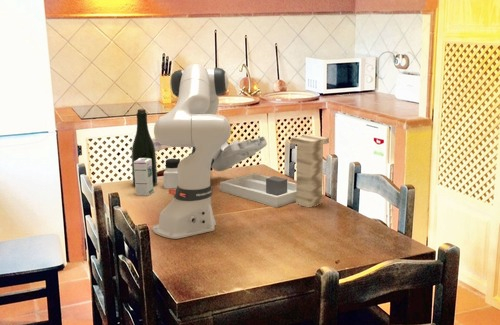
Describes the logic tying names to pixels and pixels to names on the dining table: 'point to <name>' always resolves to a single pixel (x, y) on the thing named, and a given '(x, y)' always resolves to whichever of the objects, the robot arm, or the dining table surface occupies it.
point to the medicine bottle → (171, 173)
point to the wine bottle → (143, 144)
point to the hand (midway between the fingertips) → (257, 139)
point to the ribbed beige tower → (309, 169)
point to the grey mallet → (268, 185)
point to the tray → (258, 191)
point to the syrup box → (143, 176)
